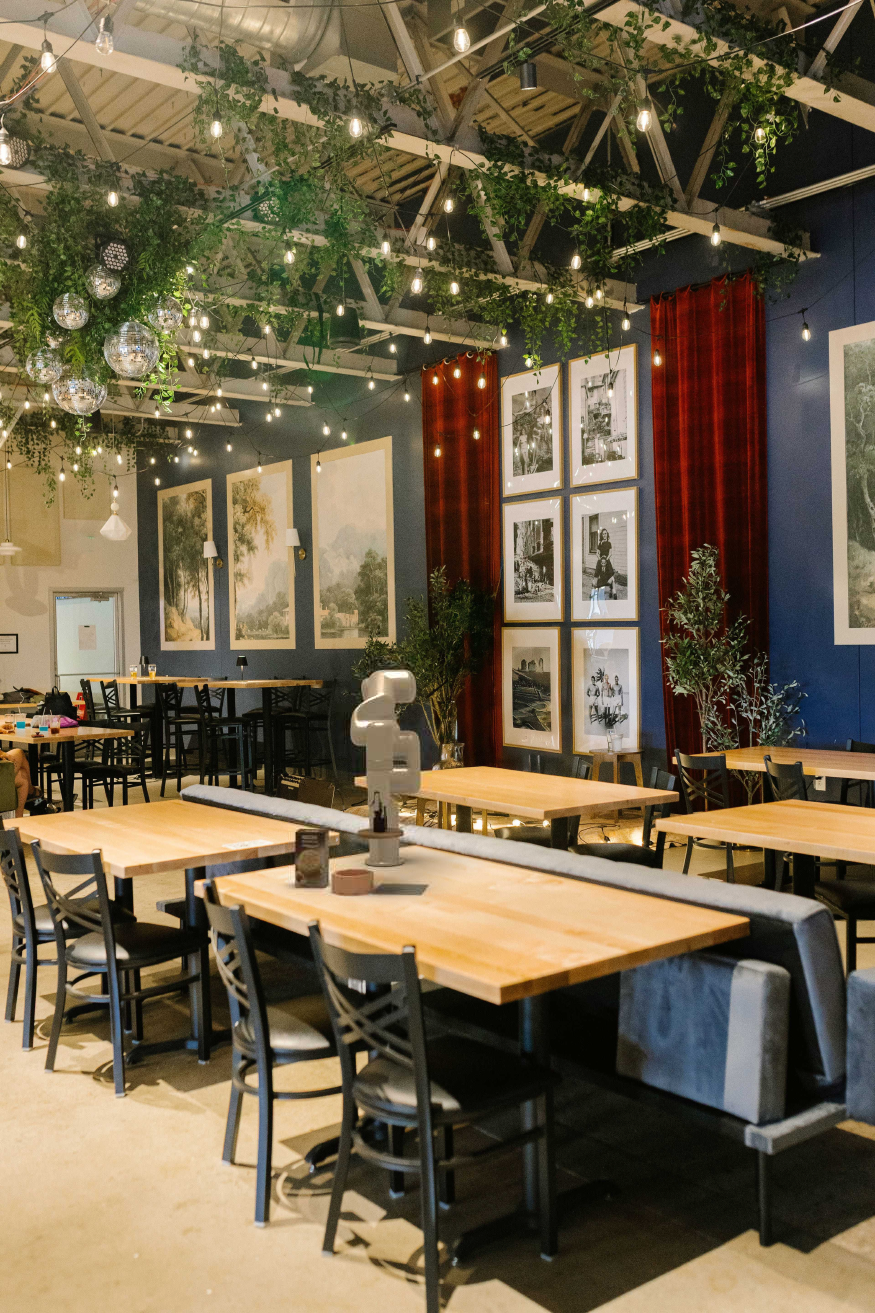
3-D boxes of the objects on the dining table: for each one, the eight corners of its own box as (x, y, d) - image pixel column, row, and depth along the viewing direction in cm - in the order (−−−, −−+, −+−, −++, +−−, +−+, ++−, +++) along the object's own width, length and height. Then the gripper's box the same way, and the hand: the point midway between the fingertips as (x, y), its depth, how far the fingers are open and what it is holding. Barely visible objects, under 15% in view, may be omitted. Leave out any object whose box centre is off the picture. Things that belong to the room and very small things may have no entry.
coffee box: (294, 887, 306) (293, 832, 306) (299, 883, 312) (298, 828, 312) (325, 888, 305) (325, 832, 305) (329, 883, 311) (329, 828, 311)
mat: (381, 885, 308) (381, 883, 308) (429, 886, 306) (429, 884, 306) (371, 895, 295) (371, 894, 295) (421, 896, 292) (421, 895, 292)
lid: (362, 831, 307) (362, 810, 307) (406, 831, 305) (406, 810, 305) (353, 838, 294) (353, 816, 294) (399, 839, 292) (399, 817, 293)
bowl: (338, 888, 305) (338, 868, 305) (376, 888, 303) (376, 869, 303) (328, 896, 294) (328, 876, 294) (367, 897, 292) (367, 877, 292)
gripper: (371, 763, 308) (372, 826, 308) (361, 768, 292) (361, 835, 292) (397, 763, 307) (398, 826, 307) (388, 768, 291) (388, 836, 291)
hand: (380, 830), depth 300 cm, fingers closed on lid, 2 cm apart
